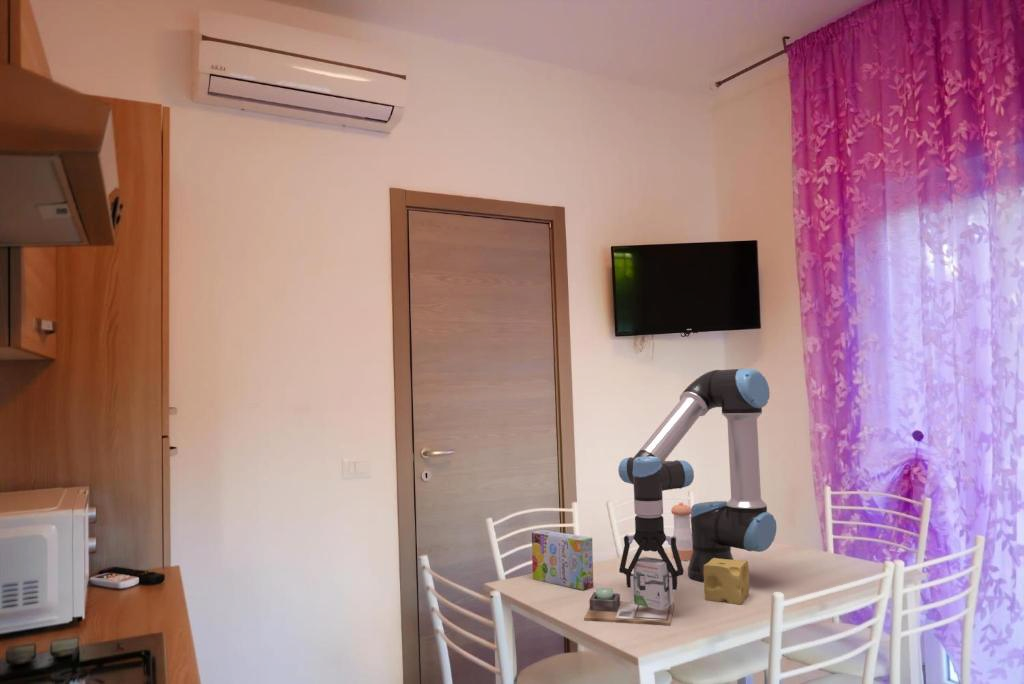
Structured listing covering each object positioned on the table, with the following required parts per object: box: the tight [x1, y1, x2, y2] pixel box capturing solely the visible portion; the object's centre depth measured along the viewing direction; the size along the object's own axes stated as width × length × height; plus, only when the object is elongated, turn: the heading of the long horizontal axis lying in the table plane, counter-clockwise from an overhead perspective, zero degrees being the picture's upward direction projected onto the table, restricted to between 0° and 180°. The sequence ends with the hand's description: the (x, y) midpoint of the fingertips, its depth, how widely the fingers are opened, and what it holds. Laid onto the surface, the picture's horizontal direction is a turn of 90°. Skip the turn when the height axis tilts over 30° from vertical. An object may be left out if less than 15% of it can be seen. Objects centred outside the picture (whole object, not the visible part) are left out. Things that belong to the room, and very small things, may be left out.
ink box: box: [633, 556, 671, 610], centre depth 191 cm, size 9×5×12 cm, turn 50°
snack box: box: [531, 529, 594, 591], centre depth 224 cm, size 21×6×15 cm, turn 45°
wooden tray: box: [583, 592, 675, 626], centre depth 192 cm, size 22×16×3 cm
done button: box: [596, 587, 614, 600], centre depth 196 cm, size 4×4×3 cm
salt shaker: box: [670, 502, 693, 561], centre depth 251 cm, size 7×7×19 cm
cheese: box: [703, 558, 750, 606], centre depth 204 cm, size 10×11×10 cm
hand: (652, 600), depth 191 cm, fingers closed on ink box, 9 cm apart
